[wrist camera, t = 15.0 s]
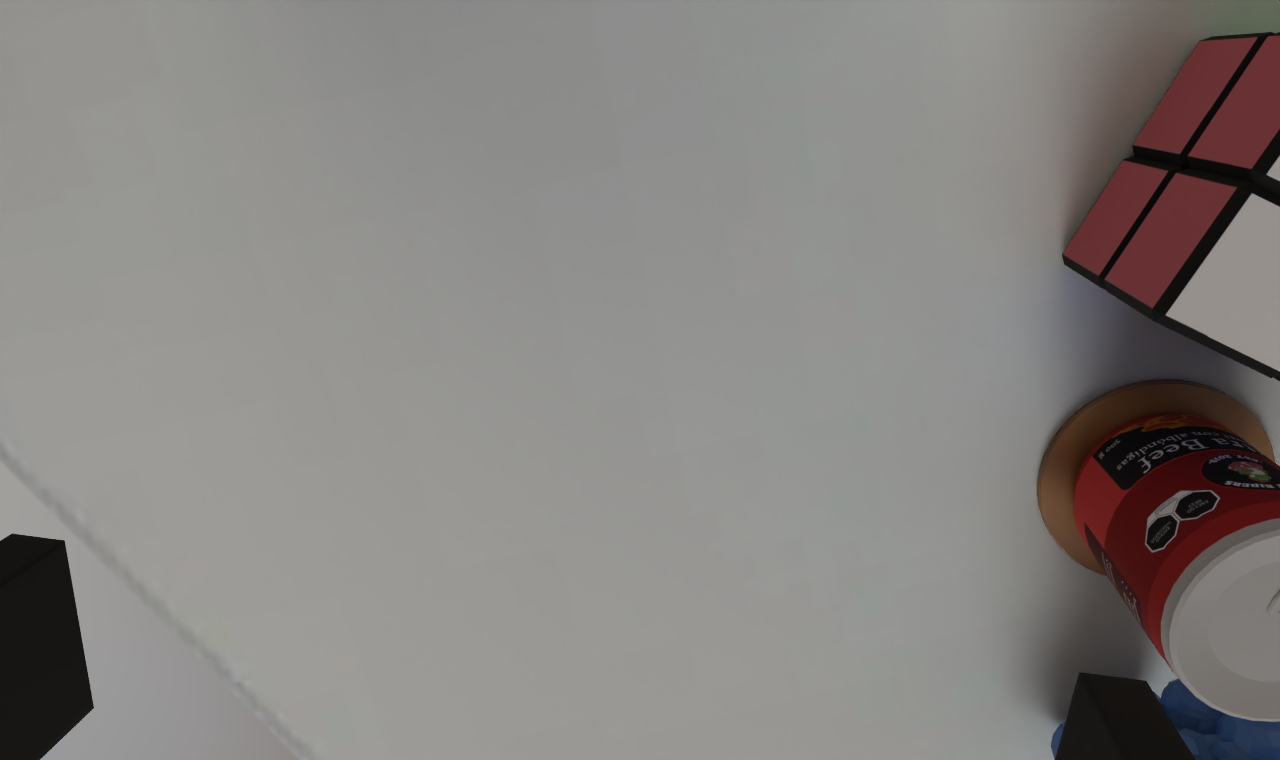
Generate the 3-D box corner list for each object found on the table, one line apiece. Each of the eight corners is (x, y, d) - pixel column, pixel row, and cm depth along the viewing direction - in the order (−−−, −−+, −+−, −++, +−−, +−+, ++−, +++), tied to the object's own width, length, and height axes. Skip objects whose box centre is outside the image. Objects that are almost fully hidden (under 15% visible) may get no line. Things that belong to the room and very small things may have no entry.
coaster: (1063, 368, 40) (1067, 371, 39) (1300, 392, 39) (1306, 396, 38) (1016, 562, 43) (1019, 567, 43) (1233, 589, 42) (1238, 594, 42)
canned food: (1266, 410, 39) (1449, 533, 29) (1225, 570, 42) (1378, 735, 31) (1082, 401, 40) (1195, 516, 29) (1053, 558, 42) (1147, 714, 32)
